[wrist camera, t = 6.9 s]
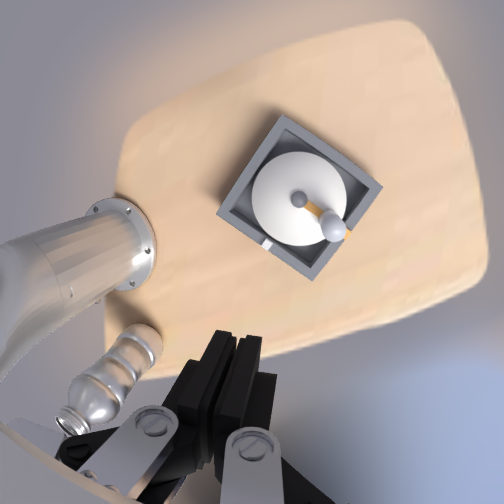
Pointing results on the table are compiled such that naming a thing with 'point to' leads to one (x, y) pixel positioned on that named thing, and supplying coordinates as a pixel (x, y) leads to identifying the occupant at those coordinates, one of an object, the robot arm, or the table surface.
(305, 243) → the white crank wheel
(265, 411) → the robot arm
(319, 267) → the housing
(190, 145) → the table surface
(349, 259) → the table surface
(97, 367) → the plastic bottle
